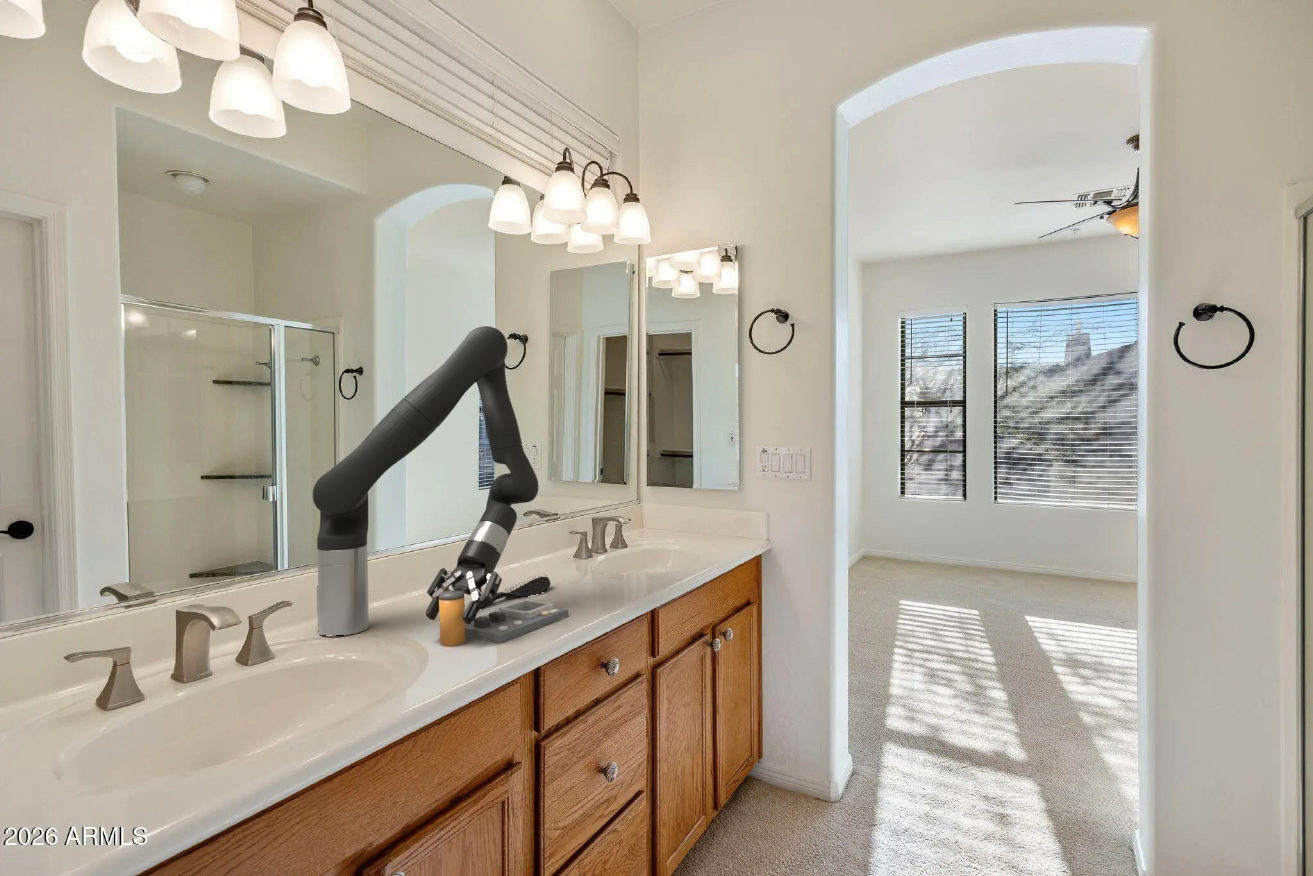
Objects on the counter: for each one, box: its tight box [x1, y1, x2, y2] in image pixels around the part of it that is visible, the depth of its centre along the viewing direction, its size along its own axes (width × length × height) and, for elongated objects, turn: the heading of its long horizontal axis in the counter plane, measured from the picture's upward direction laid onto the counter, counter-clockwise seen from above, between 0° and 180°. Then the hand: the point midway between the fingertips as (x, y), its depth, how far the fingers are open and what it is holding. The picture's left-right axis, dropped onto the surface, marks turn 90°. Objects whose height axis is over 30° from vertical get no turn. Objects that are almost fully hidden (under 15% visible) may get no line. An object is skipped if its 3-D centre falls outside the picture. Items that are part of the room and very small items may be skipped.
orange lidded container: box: [438, 589, 466, 648], centre depth 118 cm, size 5×5×10 cm
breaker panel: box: [465, 599, 569, 644], centre depth 129 cm, size 13×20×3 cm, turn 149°
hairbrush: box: [479, 573, 551, 610], centre depth 151 cm, size 8×4×25 cm
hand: (447, 620), depth 117 cm, fingers open, 8 cm apart
